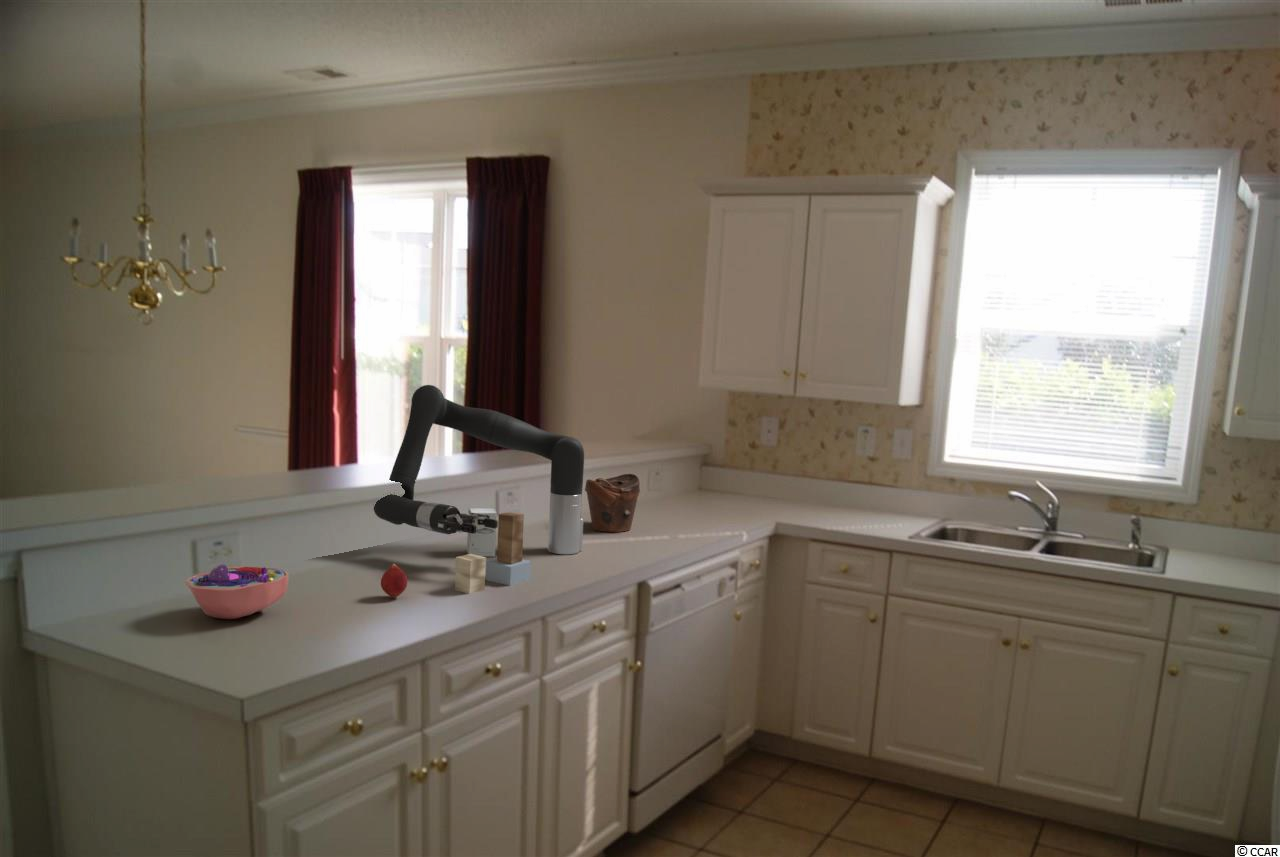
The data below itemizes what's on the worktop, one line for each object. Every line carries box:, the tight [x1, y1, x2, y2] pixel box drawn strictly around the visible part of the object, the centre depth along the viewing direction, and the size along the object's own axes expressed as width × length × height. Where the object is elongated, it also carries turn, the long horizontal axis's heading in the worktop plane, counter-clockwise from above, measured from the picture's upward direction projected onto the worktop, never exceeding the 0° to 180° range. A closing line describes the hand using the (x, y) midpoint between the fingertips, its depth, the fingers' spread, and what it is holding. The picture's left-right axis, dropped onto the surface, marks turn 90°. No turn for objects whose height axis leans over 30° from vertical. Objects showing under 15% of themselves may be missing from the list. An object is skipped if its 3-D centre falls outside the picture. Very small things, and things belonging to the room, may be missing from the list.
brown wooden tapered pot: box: [584, 473, 641, 533], centre depth 290 cm, size 18×20×18 cm
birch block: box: [454, 553, 487, 595], centre depth 211 cm, size 5×5×8 cm
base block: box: [485, 558, 532, 587], centre depth 221 cm, size 8×8×5 cm
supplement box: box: [466, 507, 498, 557], centre depth 246 cm, size 7×7×13 cm
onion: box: [380, 563, 408, 599], centre depth 201 cm, size 6×6×8 cm
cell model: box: [183, 563, 290, 620], centre depth 182 cm, size 17×20×11 cm
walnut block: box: [496, 511, 525, 564], centre depth 221 cm, size 4×4×12 cm
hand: (486, 526), depth 224 cm, fingers open, 8 cm apart
